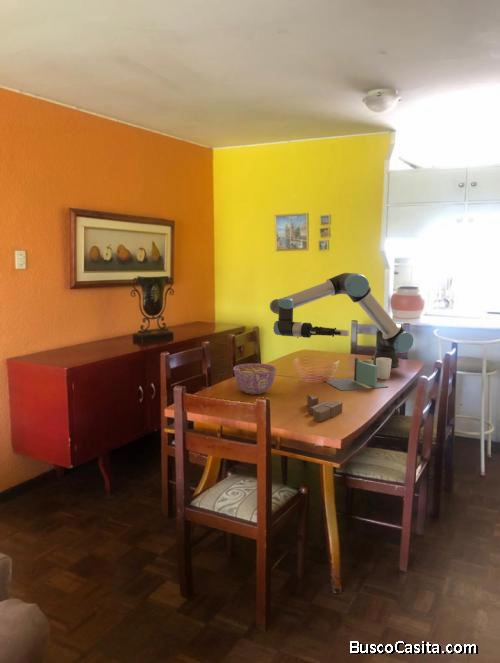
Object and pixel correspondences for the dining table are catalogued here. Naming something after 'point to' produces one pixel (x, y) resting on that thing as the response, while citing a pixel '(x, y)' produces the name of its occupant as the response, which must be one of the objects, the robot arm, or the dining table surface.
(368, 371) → the teal rectangular panel
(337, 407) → the wooden block set
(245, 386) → the bowl of food
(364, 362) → the tan brown patterned panel
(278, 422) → the dining table surface
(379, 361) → the white cup
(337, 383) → the mat
